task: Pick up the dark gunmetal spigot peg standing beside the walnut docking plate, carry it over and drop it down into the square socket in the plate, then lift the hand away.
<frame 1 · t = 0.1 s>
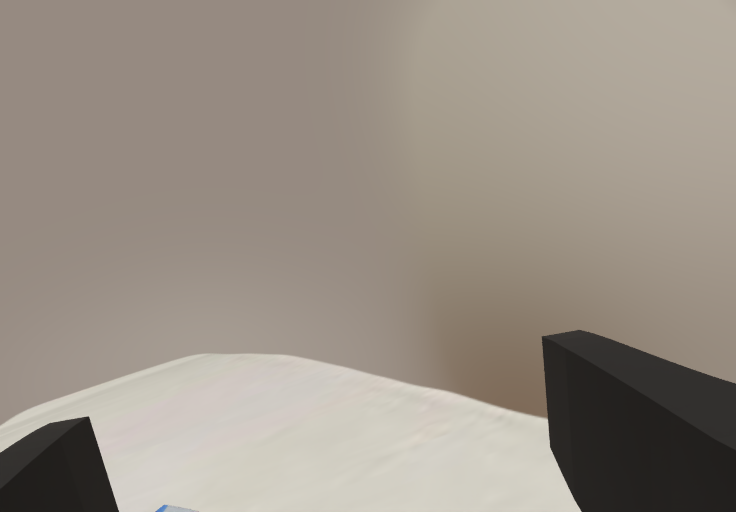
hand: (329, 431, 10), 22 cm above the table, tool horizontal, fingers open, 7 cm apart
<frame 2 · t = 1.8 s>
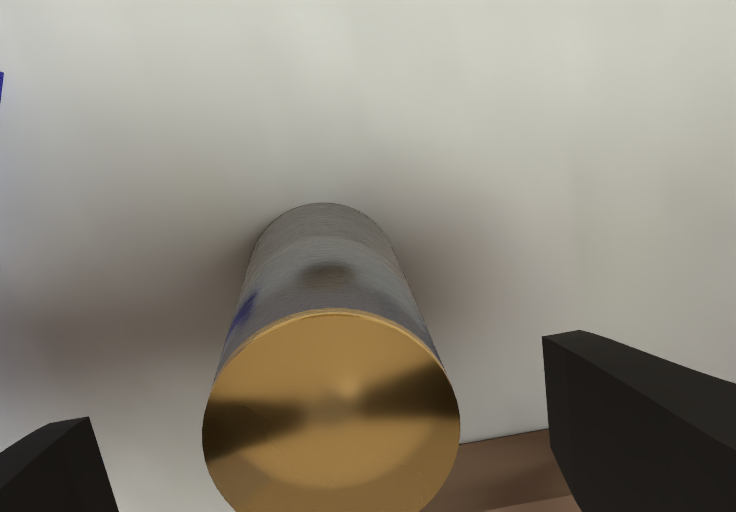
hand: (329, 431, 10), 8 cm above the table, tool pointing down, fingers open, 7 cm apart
spigot peg: (323, 275, 18), on the table
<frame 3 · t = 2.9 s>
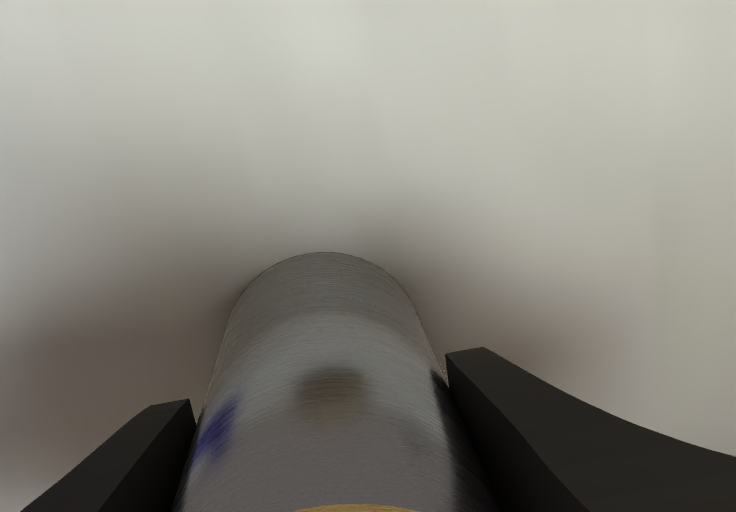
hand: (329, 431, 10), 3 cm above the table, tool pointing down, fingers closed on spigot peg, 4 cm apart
spigot peg: (324, 346, 13), on the table, touching gripper
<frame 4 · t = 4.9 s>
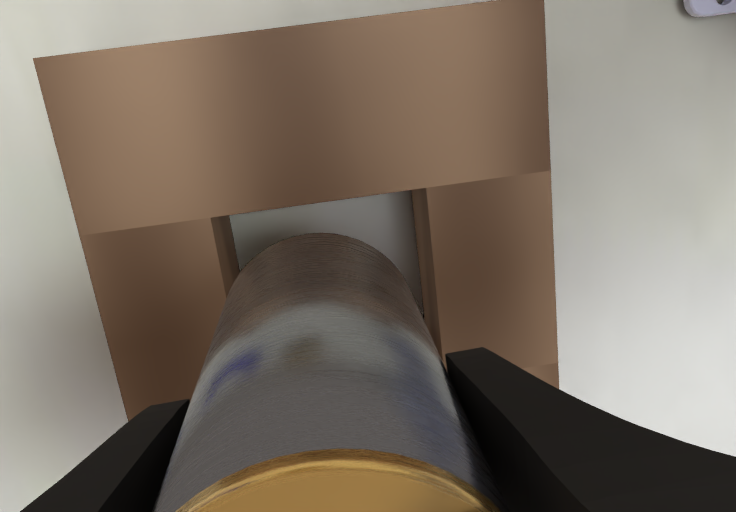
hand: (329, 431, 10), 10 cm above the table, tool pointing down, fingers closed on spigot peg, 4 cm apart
dock plate: (330, 268, 20), on the table
spigot peg: (320, 326, 14), point 7 cm above the table, touching gripper
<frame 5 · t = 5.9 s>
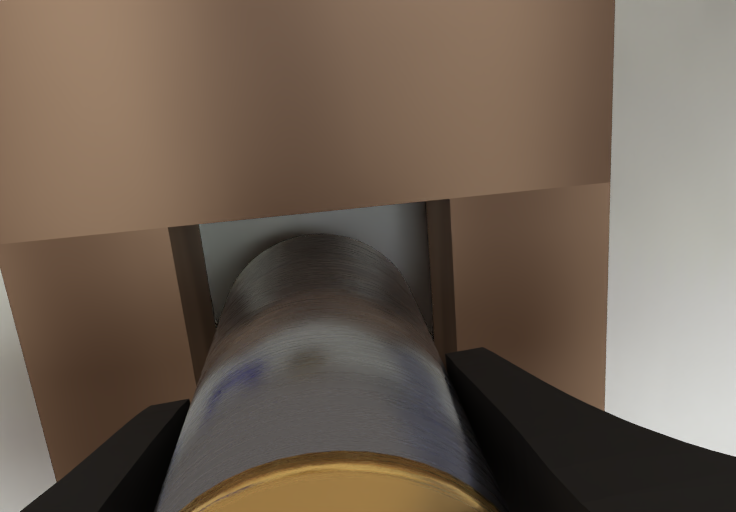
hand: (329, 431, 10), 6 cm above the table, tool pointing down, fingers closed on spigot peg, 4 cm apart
dock plate: (322, 292, 16), on the table
spigot peg: (321, 327, 14), point 3 cm above the table, touching gripper
when the fingers open (4 cm above the table, at t = 6.8 s): spigot peg stays where it is, resting in dock plate.
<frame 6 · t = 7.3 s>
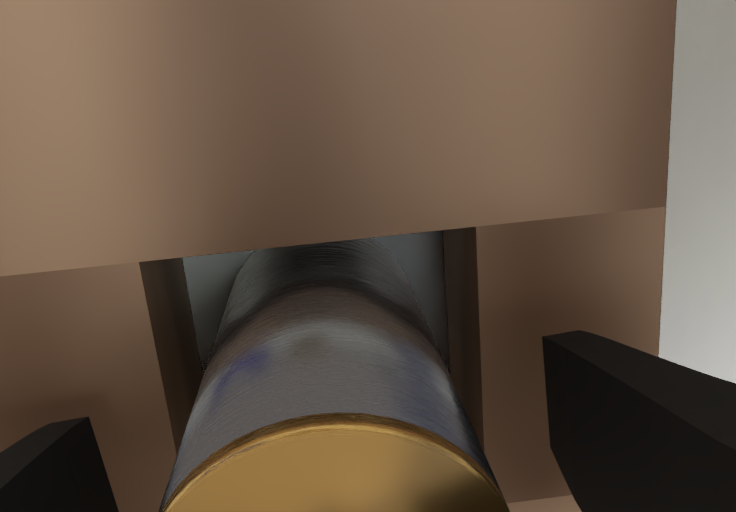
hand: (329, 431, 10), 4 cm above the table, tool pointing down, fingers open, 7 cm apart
dock plate: (323, 327, 14), on the table
spigot peg: (321, 313, 14), resting in dock plate
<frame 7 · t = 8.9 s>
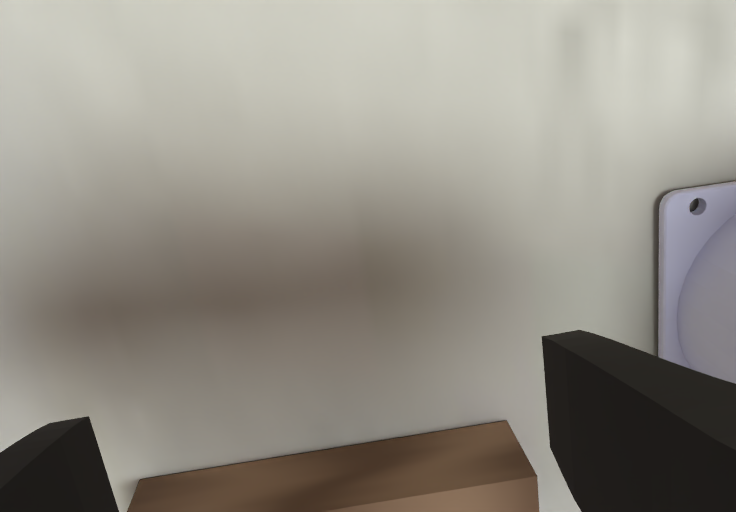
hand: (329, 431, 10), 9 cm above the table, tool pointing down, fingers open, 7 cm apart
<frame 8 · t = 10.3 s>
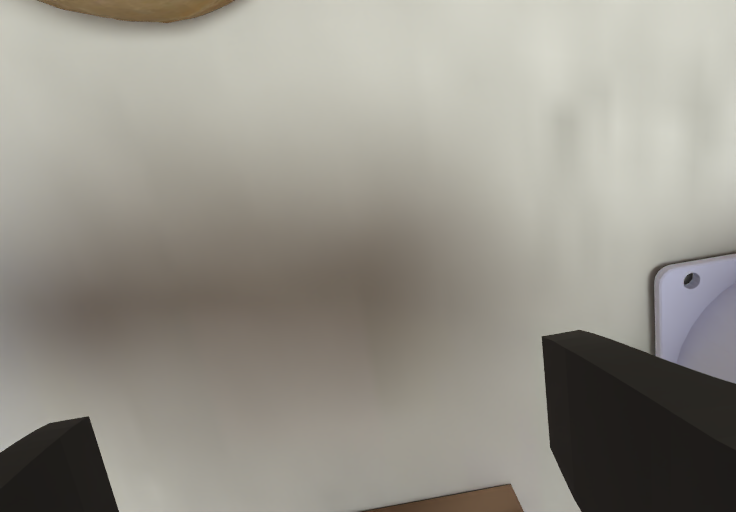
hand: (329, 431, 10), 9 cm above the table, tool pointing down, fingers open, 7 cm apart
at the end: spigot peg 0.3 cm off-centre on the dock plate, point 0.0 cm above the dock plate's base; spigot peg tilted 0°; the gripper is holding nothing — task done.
